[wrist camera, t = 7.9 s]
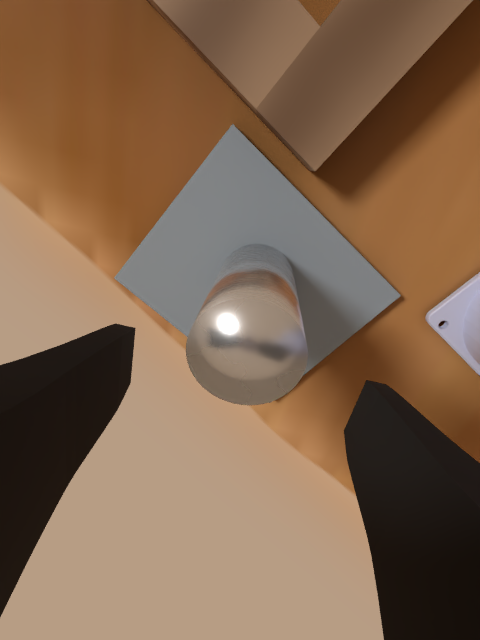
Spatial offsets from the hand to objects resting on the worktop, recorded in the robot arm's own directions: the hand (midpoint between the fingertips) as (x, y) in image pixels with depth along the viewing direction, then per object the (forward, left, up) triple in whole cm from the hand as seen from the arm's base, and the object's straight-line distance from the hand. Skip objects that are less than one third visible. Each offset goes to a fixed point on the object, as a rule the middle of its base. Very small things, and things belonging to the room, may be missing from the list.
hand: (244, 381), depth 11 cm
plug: (0, 0, -9) cm, 9 cm away
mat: (0, 0, -10) cm, 10 cm away
